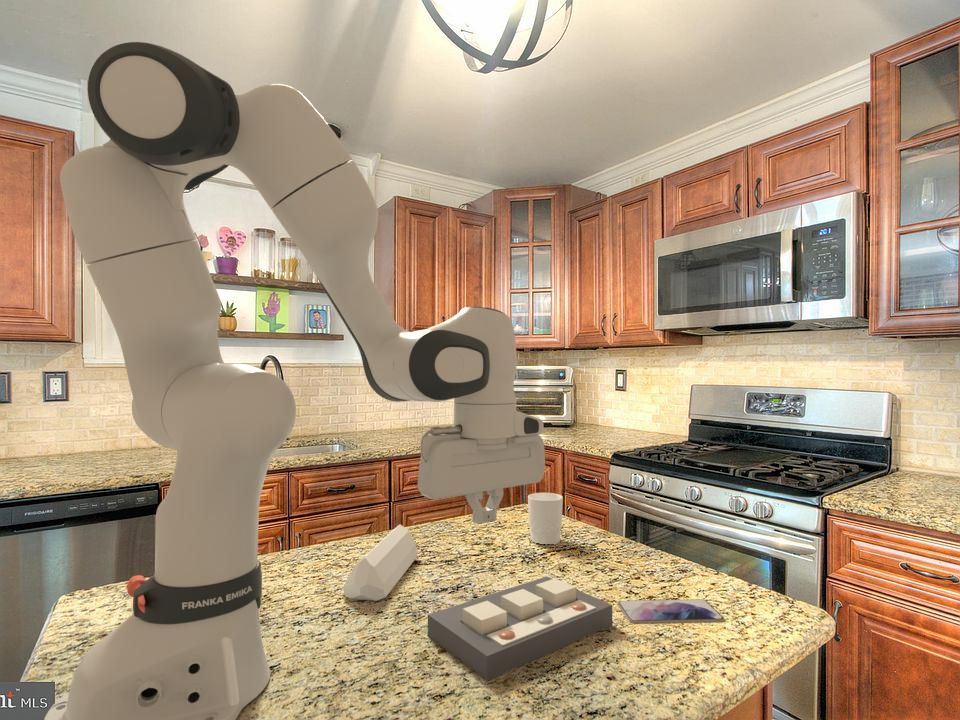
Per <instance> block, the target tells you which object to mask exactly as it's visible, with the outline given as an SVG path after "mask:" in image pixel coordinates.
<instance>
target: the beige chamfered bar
mask: <svg viewBox="0 0 960 720" xmlns="http://www.w3.org/2000/svg"><path fill="white" fill-rule="evenodd" d="M417 558H418V550H417V543H416V541H415V540H414V538H413V535H412V533H411V531H410V530H409V529H407V528H406V527H405V526H403V525H402V524H400V523H399V524H398V525H397V526H396V527H395V528H394V529H392V530H391V531H390V532H389V533H388V534H387V535H386V536H385V537H384V538H383V539H381V541H379V542H378V543H377V544H376V545H375V546H374V547H373V548H372V549H371V550H370V551H369V552H367V554H365V556H364V557H362V558H361V559H360V560H359V561H357V563H355V565H353V568H352V569H351V571H350V573H349V575H348V577H347V579H346V580H345V582H344V583H345V584H344V587H343V595H344V596H345V597H347V598H349V599H350V600H361V601H362V600H363V601H376V602H377V601H379V600H382V599H385V598H387V596H388V595H389V594H390V592H391V591H392V590H393V588H394V587H395V586H396V585H397V584H398V582H399V581H400V580H401V578H402V577H403V576H404V574H405V573H406V572H407V571H408V569H410V567H411V565H412V564H413V563H414V561H415V560H416V559H417Z"/></svg>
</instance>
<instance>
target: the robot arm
mask: <svg viewBox="0 0 960 720" xmlns="http://www.w3.org/2000/svg"><path fill="white" fill-rule="evenodd" d="M90 69H91V70H90V72H89V75H88V80H87V97H88V102H89V107H90V110H91V112H92V114H93V116H94V119H95V120H96V122H97V123H98V126H99V127H100V129H101V130H102V131H103V133H104V134H105V135H106V136H107V137H108V139H109V140H108V141H107V142H106V143H104V144H102V145H99V146H92V147H89V148H86V149H85V150H84V149H83V150H82V151H79V152H78V153H76V154H74V155H73V156H71V158H69V159H68V160H67V161H66V162H65V163H64V164H63V166H62V168H61V170H60V172H59V173H60V174H59V182H60V189H61V193H62V198H63V202H64V205H65V206H64V207H65V210H66V215H67V217H68V220H69V223H70V224H69V225H70V227H71V229H72V233H73V235H74V238H75V241H76V244H77V246H78V249H79V251H80V254H81V257H82V258H83V260H84V264H85V265H86V267H87V269H88V271H89V274H90V276H91V279H92V281H93V283H94V285H95V287H96V290H97V292H98V294H99V297H100V298H101V301H102V303H103V305H104V307H105V309H106V312H107V313H108V314H107V315H108V316H109V318H110V321H111V323H112V325H113V328H114V330H115V333H116V335H117V339H118V341H119V345H120V348H121V352H122V356H123V361H124V364H125V370H126V374H127V379H128V383H129V386H130V391H131V393H132V401H131V413H132V415H131V416H132V418H133V420H134V423H135V424H136V426H137V427H138V429H139V430H141V432H143V434H145V436H147V437H148V438H149V439H151V440H152V441H153V442H155V443H157V444H158V445H159V446H161V447H165V448H167V449H171V450H176V461H175V466H174V470H173V472H172V473H173V474H172V477H171V481H170V485H169V487H168V491H167V493H166V495H165V498H163V500H161V502H160V503H159V505H158V506H157V509H156V514H155V536H154V537H155V540H154V541H155V543H154V544H155V545H154V548H155V549H154V550H155V553H154V574H153V575H151V576H150V577H149V578H148V579H146V577H144V575H140V574H139V575H134V576H131V578H129V580H128V581H127V582H126V585H125V586H126V592H127V595H128V596H130V597H131V598H132V611H133V613H132V614H131V615H130V616H128V617H127V618H126V619H125V620H124V621H123V622H121V623H120V624H118V626H116V628H114V629H113V630H112V631H111V632H110V633H108V634H107V635H105V637H103V638H102V639H101V640H99V641H98V642H97V643H96V644H95V645H93V646H92V647H91V648H89V649H88V651H87V652H86V653H84V655H83V657H82V658H81V660H80V661H79V663H78V666H77V668H76V670H75V673H74V675H73V678H72V681H71V683H70V688H69V692H67V693H65V694H63V695H62V696H61V697H60V698H59V699H58V700H57V701H55V702H54V704H52V706H51V707H50V708H49V710H48V711H47V713H46V714H45V716H44V719H43V720H236V719H237V718H238V716H239V715H240V713H241V711H242V710H243V708H245V707H246V706H247V705H248V704H249V703H251V702H252V701H253V700H254V699H256V698H257V697H258V696H259V695H260V694H261V693H262V692H263V690H265V688H267V685H268V683H269V681H270V678H271V669H270V666H269V663H268V661H267V656H266V653H265V652H266V651H265V649H264V643H263V638H262V637H263V636H262V631H261V629H262V628H261V621H260V610H259V609H261V602H262V597H263V572H262V564H261V563H262V562H260V561H259V559H258V554H259V551H258V549H259V521H260V520H259V518H260V517H259V515H260V502H261V495H262V492H263V487H264V483H265V479H266V476H267V473H268V470H269V467H270V464H271V461H272V458H273V456H274V455H275V453H276V452H277V450H278V449H279V448H280V447H281V446H282V445H283V444H284V443H285V442H286V440H288V438H289V436H290V435H291V433H292V430H293V428H294V425H295V421H296V417H297V416H296V415H297V408H296V407H297V406H296V405H297V404H296V400H295V397H294V394H293V392H292V390H291V389H290V386H289V385H288V384H287V383H286V382H285V381H284V380H283V379H282V378H280V377H279V376H277V375H275V374H274V373H271V372H270V371H267V370H265V369H262V368H259V367H256V366H253V365H249V364H244V363H225V362H224V360H223V358H222V354H221V350H220V343H219V334H218V333H219V332H218V322H219V317H220V315H221V311H222V303H221V302H222V301H221V298H220V296H219V293H218V291H217V288H216V285H215V283H214V280H213V278H212V275H211V273H210V270H209V268H208V264H207V263H206V260H205V257H204V254H203V253H202V250H201V248H200V244H199V243H198V240H197V236H196V234H195V231H194V230H193V228H192V225H191V223H190V219H189V217H188V214H187V211H186V207H185V203H184V191H189V190H190V191H191V190H192V189H194V188H196V187H197V186H199V185H200V184H203V183H204V182H205V181H207V180H209V179H211V178H213V177H214V176H216V175H218V174H220V173H221V172H223V171H224V170H225V169H226V168H228V167H233V168H235V169H237V170H238V171H240V172H241V173H242V174H243V175H244V176H246V178H247V179H248V180H249V181H250V182H251V183H252V185H253V186H254V187H255V189H256V190H257V191H258V193H259V194H260V195H261V197H262V198H263V200H264V201H265V203H266V204H267V205H268V207H269V209H271V211H272V213H273V214H274V216H275V217H276V219H277V220H278V221H279V223H280V224H281V226H282V227H283V229H284V230H285V231H286V233H287V234H288V235H289V237H290V238H291V240H292V241H293V243H294V244H295V245H296V247H297V249H298V250H299V252H301V254H302V256H303V257H304V258H305V260H306V262H307V264H308V265H309V266H310V269H312V272H313V274H314V275H315V276H316V278H317V279H318V281H319V284H320V285H321V287H322V289H323V291H324V292H325V294H326V296H327V297H328V299H329V301H330V302H331V304H332V305H333V308H334V309H335V310H336V312H337V314H338V316H339V317H340V319H341V321H342V322H343V324H344V325H345V327H346V329H347V331H348V332H349V333H350V335H351V337H352V338H353V340H354V342H355V344H356V346H357V348H358V351H359V354H360V356H361V363H362V366H363V371H364V375H365V379H366V381H367V382H368V384H369V387H370V388H371V389H372V390H373V392H375V393H376V394H377V395H378V396H380V397H381V398H383V399H385V400H387V401H391V402H397V403H398V402H399V403H401V402H408V401H414V402H431V403H432V402H434V403H442V402H447V401H449V400H453V425H446V426H433V427H431V428H430V429H429V430H428V431H426V432H425V433H424V434H423V435H422V437H421V439H420V458H419V465H418V473H417V474H418V476H417V489H418V491H419V493H420V494H421V495H422V496H423V497H425V498H428V499H431V500H434V501H435V500H442V499H447V498H448V499H449V498H453V497H458V496H460V497H461V496H465V499H466V501H467V503H468V505H469V507H470V508H471V510H472V521H473V523H475V524H477V525H482V524H486V523H492V522H496V521H497V518H498V517H497V516H498V515H497V513H498V512H497V511H498V508H499V506H500V504H501V502H502V500H503V497H504V489H508V488H512V487H519V486H527V485H530V484H531V485H533V484H538V483H540V482H541V481H542V480H543V478H544V476H545V473H546V472H545V471H546V453H545V451H546V450H545V444H544V440H543V438H542V436H541V434H542V433H544V427H545V426H544V421H543V420H542V419H541V418H538V417H535V416H532V415H529V414H527V413H524V412H522V411H519V410H517V397H516V393H515V388H514V385H515V378H516V375H517V343H516V335H515V329H514V326H513V322H512V319H511V318H510V316H509V315H507V314H506V313H505V312H503V311H501V310H498V309H495V308H491V307H484V306H483V307H482V306H468V307H463V308H461V310H460V311H459V312H458V313H457V314H455V315H453V316H452V317H451V318H448V319H447V320H445V321H443V322H441V323H439V324H435V325H433V326H430V327H428V328H424V329H420V330H415V331H410V330H407V329H405V328H403V327H402V326H400V325H399V324H398V323H397V322H396V321H395V318H394V317H393V315H392V313H391V311H390V309H389V308H388V306H387V305H386V302H385V301H384V299H383V297H382V296H381V294H380V292H379V290H378V288H377V287H376V285H375V282H374V281H373V279H372V277H371V274H370V270H369V255H370V254H369V253H370V248H371V245H372V243H373V240H374V238H375V236H376V233H377V229H378V224H379V223H378V222H379V210H378V206H377V203H376V200H375V199H374V196H373V193H372V190H371V189H370V187H369V185H368V182H367V181H366V178H365V177H364V175H363V174H362V172H361V170H360V169H359V167H358V165H357V164H356V163H355V161H354V159H353V158H352V156H351V154H350V153H349V151H348V150H347V148H346V147H345V145H344V144H343V143H342V141H341V140H340V139H339V137H338V136H337V134H336V133H335V131H334V130H333V129H332V128H331V127H330V125H329V123H328V122H327V121H326V119H324V117H323V116H322V115H321V114H320V112H318V110H317V109H316V108H315V107H314V106H313V104H312V103H311V102H310V101H309V100H308V99H307V97H305V96H304V95H303V93H301V92H300V91H299V90H297V89H296V88H294V87H292V86H289V85H286V84H281V83H272V84H270V83H269V84H265V85H260V86H258V87H256V88H253V89H251V90H250V91H247V92H245V93H242V94H235V92H234V89H233V88H232V86H231V85H230V84H229V83H228V82H227V81H226V80H224V79H222V78H220V77H219V76H218V75H216V74H214V73H212V72H210V71H209V70H207V69H205V68H204V67H202V66H200V65H199V64H197V63H196V62H194V61H192V59H189V58H187V57H186V56H184V55H183V54H181V53H178V52H177V51H174V50H171V49H169V48H168V47H165V46H161V45H158V44H154V43H151V42H150V43H149V42H143V41H141V42H140V41H132V42H131V41H130V42H123V43H119V44H116V45H114V46H111V47H109V48H108V49H107V50H105V51H104V52H103V53H102V54H100V55H99V57H98V58H97V59H96V60H95V62H94V63H93V65H92V67H91V68H90ZM484 492H486V494H487V495H488V498H487V501H486V503H485V506H484V507H483V505H482V503H481V502H480V500H481V501H482V500H483V499H484V497H483V496H484Z"/></svg>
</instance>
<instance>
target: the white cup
mask: <svg viewBox="0 0 960 720" xmlns="http://www.w3.org/2000/svg"><path fill="white" fill-rule="evenodd" d="M563 498H564V496H563V495H561V494H559V493H558V494H557V493H553V492H535V493H531V494H528V495H527V503H528V505H527V507H528V509H527V510H528V525H529V532H530V533H529V534H530V536H529V537H530V538H529V539H530V541H531V540H532V541H533V542H536V543H540V544H554V545H556V544H555V543H558V542H559V543H560V542H561V532H562V531H561V530H562V523H563V522H562V521H563V505H564V503H563V502H564V499H563ZM532 541H531V542H532ZM533 542H532V543H533ZM536 543H535V544H536ZM559 543H558V544H559Z"/></svg>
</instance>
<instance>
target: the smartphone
mask: <svg viewBox="0 0 960 720" xmlns="http://www.w3.org/2000/svg"><path fill="white" fill-rule="evenodd" d="M617 607H618V608H619V609H620V611H621V612H622V614H623V615H624V617H625V618H626V620H627V622H629V623H630V624H637V625H638V624H674V623H675V624H677V623H679V624H680V623H681V624H683V623H685V624H686V623H688V624H689V623H723V622H725V617H724V616H723V615H722V614H721V613H720V612H719V611H717V610H716V609H715V607H714V606H713V605H711V603H709V602H708V601H707V600H705V599H701V598H700V599H696V598H695V599H652V600H651V599H648V600H647V599H646V600H644V599H643V600H640V599H639V600H619V601H617Z"/></svg>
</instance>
